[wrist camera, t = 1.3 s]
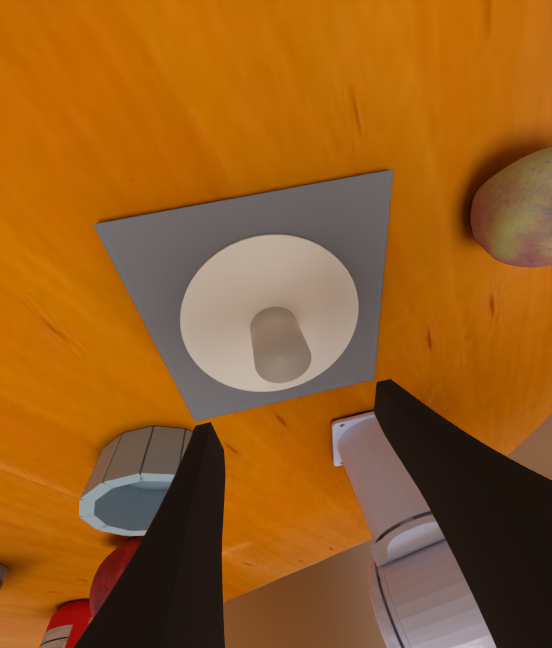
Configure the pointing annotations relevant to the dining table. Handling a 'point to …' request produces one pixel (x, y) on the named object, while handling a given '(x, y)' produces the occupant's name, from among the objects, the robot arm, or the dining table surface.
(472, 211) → the apple
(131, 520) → the bowl
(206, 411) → the mat
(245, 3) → the dining table surface
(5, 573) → the ceramic cup
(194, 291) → the lid
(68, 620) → the beverage can
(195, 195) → the dining table surface
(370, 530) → the robot arm
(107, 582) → the onion
